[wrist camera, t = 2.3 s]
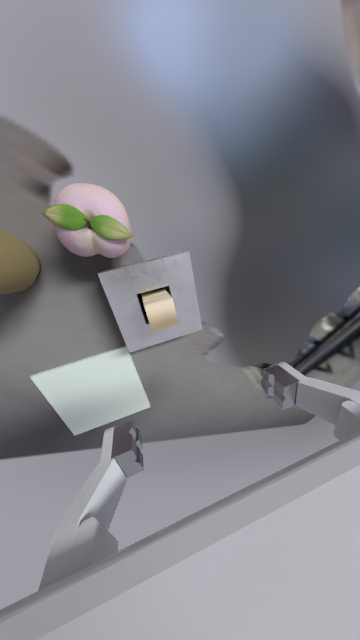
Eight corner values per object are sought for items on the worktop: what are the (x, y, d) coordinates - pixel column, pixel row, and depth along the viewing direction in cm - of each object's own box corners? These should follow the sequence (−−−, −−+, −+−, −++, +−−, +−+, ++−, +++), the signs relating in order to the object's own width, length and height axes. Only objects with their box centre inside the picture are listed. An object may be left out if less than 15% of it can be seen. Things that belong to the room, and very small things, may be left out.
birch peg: (140, 291, 31) (144, 306, 22) (161, 285, 32) (172, 298, 23) (146, 310, 33) (152, 332, 24) (166, 305, 34) (178, 323, 25)
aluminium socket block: (102, 270, 28) (97, 273, 24) (180, 251, 31) (189, 251, 26) (129, 339, 34) (129, 352, 30) (193, 320, 36) (202, 329, 32)
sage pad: (31, 375, 32) (29, 377, 31) (126, 345, 35) (126, 346, 34) (75, 433, 39) (74, 435, 39) (150, 404, 42) (150, 406, 41)
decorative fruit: (130, 201, 26) (130, 175, 17) (133, 258, 29) (133, 260, 20) (61, 192, 24) (18, 155, 15) (71, 255, 27) (41, 256, 18)
